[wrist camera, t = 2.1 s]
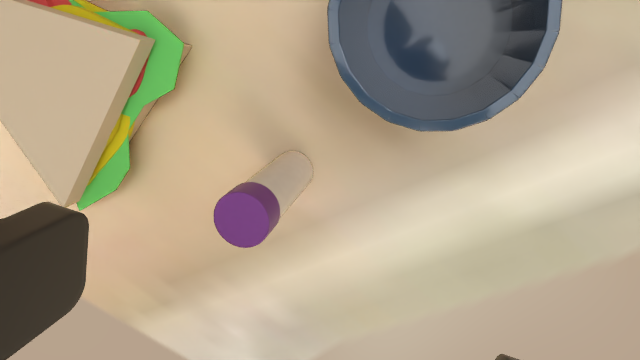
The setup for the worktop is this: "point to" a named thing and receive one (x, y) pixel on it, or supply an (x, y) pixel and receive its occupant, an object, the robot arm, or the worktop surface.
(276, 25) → the worktop surface
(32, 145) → the sandwich
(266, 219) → the glue stick
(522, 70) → the mug
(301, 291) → the worktop surface
